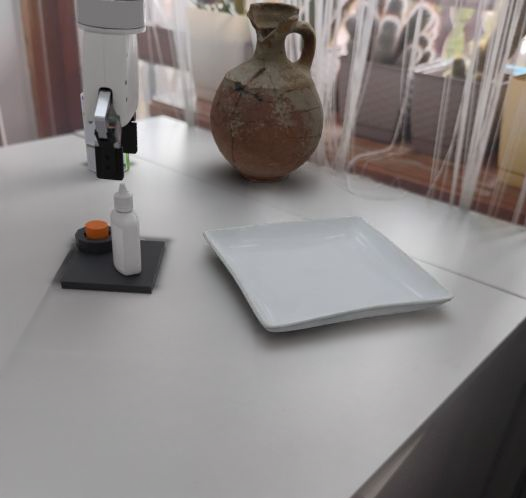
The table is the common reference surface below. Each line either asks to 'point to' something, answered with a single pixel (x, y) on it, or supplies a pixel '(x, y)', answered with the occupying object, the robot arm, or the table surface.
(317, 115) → the jug
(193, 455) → the table surface
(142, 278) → the dark grey button base
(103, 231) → the power button
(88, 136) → the syrup box
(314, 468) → the table surface
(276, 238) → the square plate
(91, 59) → the robot arm
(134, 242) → the eye dropper bottle
